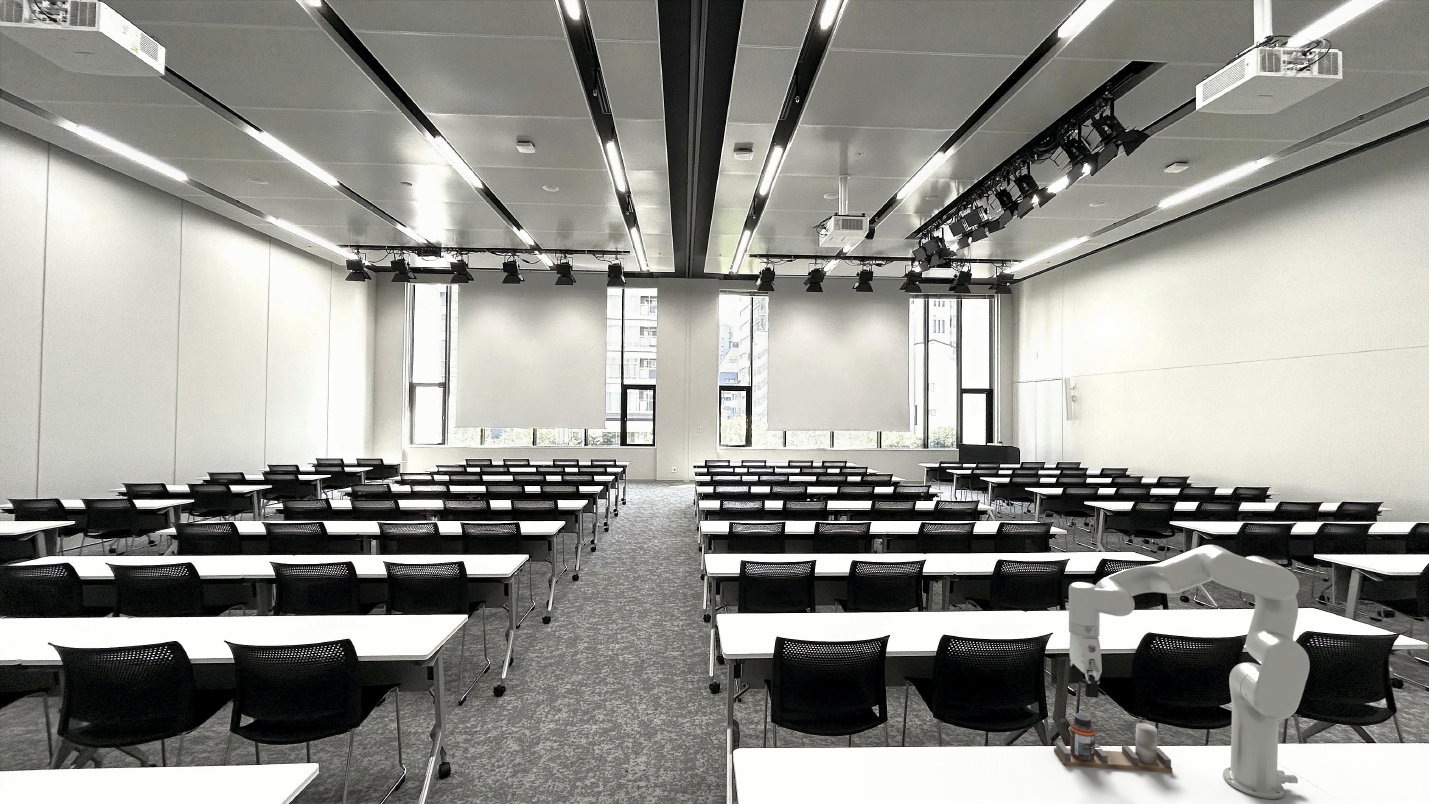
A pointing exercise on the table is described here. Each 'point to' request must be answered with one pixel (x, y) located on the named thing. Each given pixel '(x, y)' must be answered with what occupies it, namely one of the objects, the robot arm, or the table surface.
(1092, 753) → the supplement bottle
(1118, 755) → the rail
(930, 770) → the table surface
